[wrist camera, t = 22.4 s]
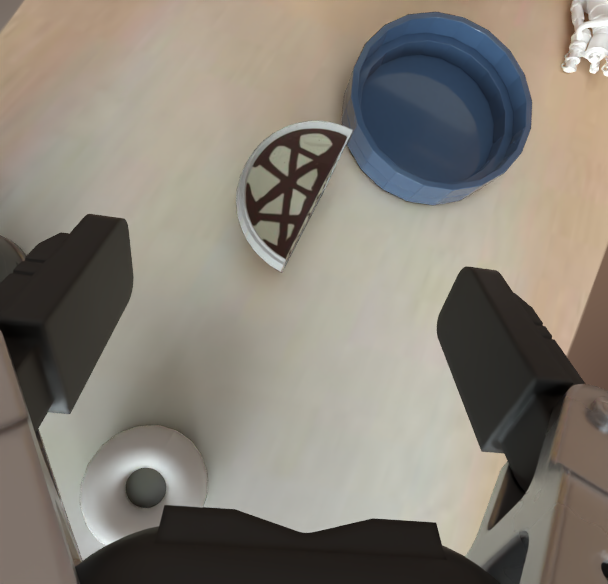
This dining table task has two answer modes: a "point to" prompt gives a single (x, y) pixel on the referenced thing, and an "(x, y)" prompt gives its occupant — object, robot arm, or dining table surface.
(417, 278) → the dining table surface
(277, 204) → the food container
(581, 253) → the dining table surface
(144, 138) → the dining table surface
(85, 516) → the donut
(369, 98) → the bowl
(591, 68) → the rocket engine
